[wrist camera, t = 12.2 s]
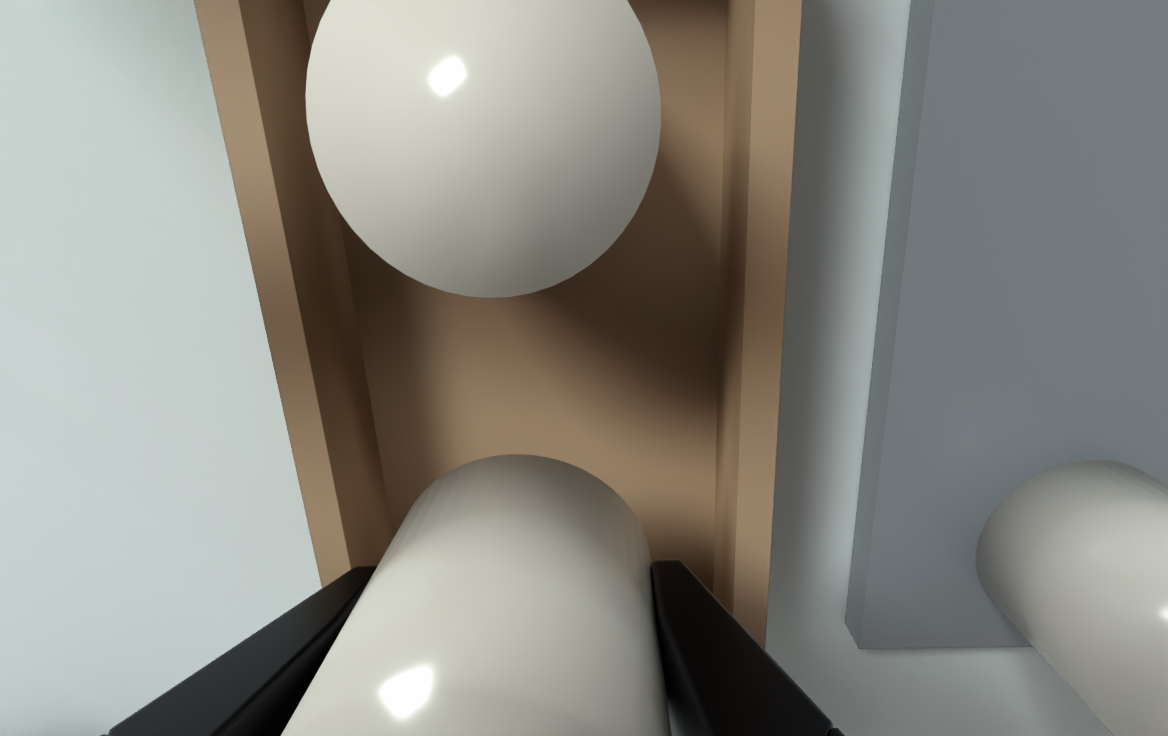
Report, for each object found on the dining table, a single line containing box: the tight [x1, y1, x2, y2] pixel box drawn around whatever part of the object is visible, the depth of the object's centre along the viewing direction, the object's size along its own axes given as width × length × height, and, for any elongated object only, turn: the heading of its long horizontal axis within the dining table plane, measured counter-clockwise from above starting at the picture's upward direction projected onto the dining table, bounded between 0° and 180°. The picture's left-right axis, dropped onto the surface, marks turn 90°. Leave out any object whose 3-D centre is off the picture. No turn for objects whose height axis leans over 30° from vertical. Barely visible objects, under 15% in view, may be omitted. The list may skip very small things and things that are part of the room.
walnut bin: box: [194, 0, 802, 650], centre depth 11 cm, size 14×8×2 cm, turn 3°
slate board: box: [845, 0, 1168, 649], centre depth 11 cm, size 15×8×1 cm, turn 3°
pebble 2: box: [281, 454, 672, 736], centre depth 7 cm, size 4×4×4 cm
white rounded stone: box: [975, 460, 1168, 736], centre depth 10 cm, size 4×4×4 cm
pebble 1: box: [305, 0, 661, 298], centre depth 8 cm, size 4×4×4 cm
